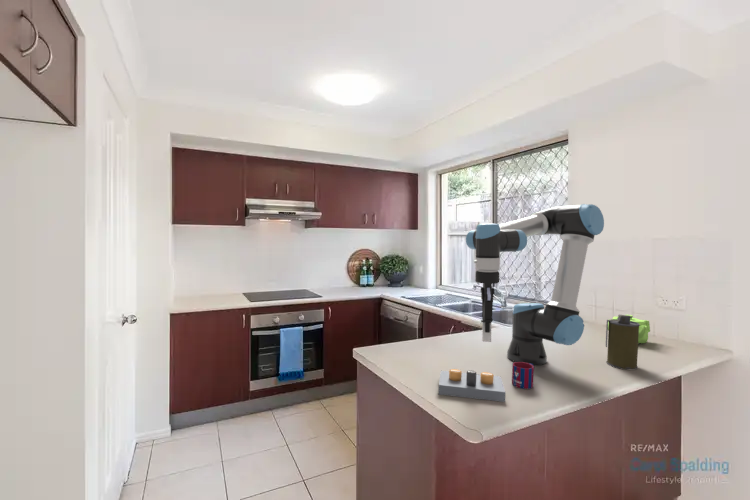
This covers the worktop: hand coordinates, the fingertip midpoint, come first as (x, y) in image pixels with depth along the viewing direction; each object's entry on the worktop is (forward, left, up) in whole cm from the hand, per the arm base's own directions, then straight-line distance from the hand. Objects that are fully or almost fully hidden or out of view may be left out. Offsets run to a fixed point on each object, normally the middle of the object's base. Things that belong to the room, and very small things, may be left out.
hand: (486, 341), depth 122 cm
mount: (+5, +4, -15) cm, 17 cm away
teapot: (-74, -76, -16) cm, 107 cm away
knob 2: (0, +4, -15) cm, 16 cm away
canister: (-55, -37, -16) cm, 68 cm away
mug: (-14, -6, -16) cm, 22 cm away
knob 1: (+10, +4, -15) cm, 19 cm away
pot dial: (+5, +7, -12) cm, 15 cm away
